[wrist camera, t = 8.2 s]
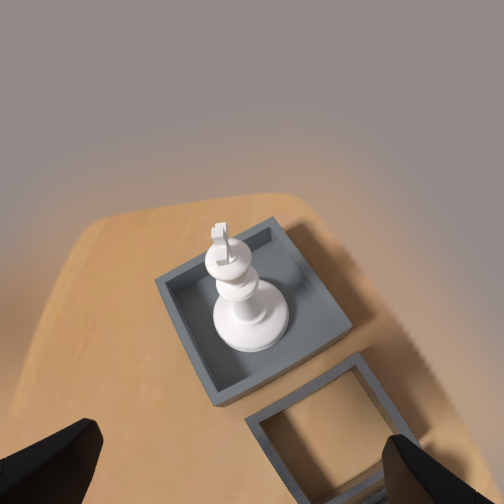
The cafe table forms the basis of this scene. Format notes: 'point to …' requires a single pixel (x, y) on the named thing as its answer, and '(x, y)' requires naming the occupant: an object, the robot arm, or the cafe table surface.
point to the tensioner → (364, 485)
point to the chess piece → (243, 296)
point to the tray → (278, 355)
